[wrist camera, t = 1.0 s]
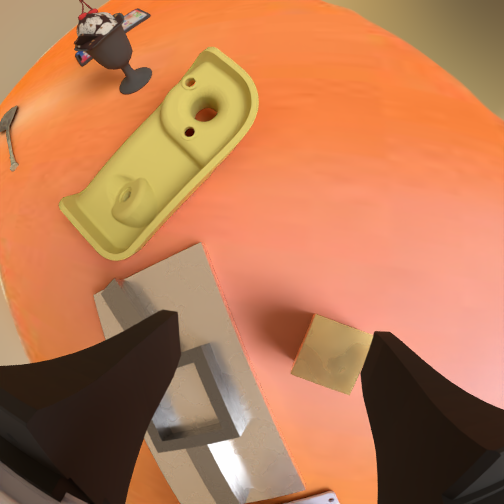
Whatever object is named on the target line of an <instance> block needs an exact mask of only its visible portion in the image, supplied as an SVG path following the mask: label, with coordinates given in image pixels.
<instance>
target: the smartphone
mask: <svg viewBox="0 0 504 504" xmlns="http://www.w3.org/2000/svg"><path fill="white" fill-rule="evenodd" d="M150 16H151V15H150V14H148V13H146V12H144V11H142V10H140V9H135V10H133V11H131V12H130V13H128V14H127V15H125V16H124V22H123V24H122V27H123V29H124V32H125V33H127V32H128V31H130V30H131V29H132V28H134V27H135V26H137V25H138V24H140V23H141V22H143V21H145V20H146V19H148V18H149V17H150ZM75 57H76V58H77V60H78V62H79V63H80V65H81V66H84V65H86V64H87V63H88V62H89V61H90V60H92V59H93V58H92V57H91V56H90V55H89V54H87V53H86V52H85V51H78V52H77V53H76V54H75Z"/></svg>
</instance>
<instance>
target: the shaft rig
mask: <svg viewBox="0 0 504 504" xmlns="http://www.w3.org/2000/svg"><path fill="white" fill-rule="evenodd" d="M94 300H95V303H96V307H97V311H98V315H99V319H100V322H101V326H102V329H103V332H104V336H105V339H106V340H107V339H109V338H111V337H113V336H115V335H117V334H119V333H121V332H123V331H125V330H126V329H128V328H130V327H132V326H133V325H135V324H137V323H139V322H141V321H142V320H144V319H146V318H147V317H149V316H151V315H153V314H154V313H156V312H158V311H160V310H162V309H164V310H170V311H176V312H178V321H179V335H180V347H181V357H180V360H179V363H178V366H177V369H176V372H175V374H174V377H173V379H172V381H171V383H170V385H169V387H168V389H167V391H166V393H165V395H164V397H163V398H162V400H161V402H160V404H159V406H158V408H157V410H156V412H155V414H154V416H153V418H152V419H151V422H150V424H149V426H148V428H147V431H146V434H145V436H144V439H145V441H146V443H147V445H148V447H149V449H150V451H151V453H152V455H153V457H154V459H155V460H156V462H157V464H158V466H159V468H160V470H161V472H162V473H163V475H164V477H165V479H166V480H167V482H168V484H169V485H170V487H171V489H172V490H173V492H174V494H175V495H176V497H177V499H178V500H179V502H180V503H181V504H245V503H250V502H255V501H261V500H266V499H271V498H275V497H280V496H284V495H288V494H292V493H296V492H300V491H303V490H306V483H305V481H304V479H303V477H302V474H301V472H300V470H299V468H298V466H297V464H296V462H295V460H294V458H293V456H292V454H291V451H290V449H289V447H288V445H287V443H286V441H285V438H284V436H283V434H282V432H281V430H280V428H279V425H278V423H277V421H276V419H275V416H274V414H273V412H272V410H271V407H270V405H269V403H268V401H267V398H266V396H265V394H264V391H263V389H262V387H261V385H260V382H259V380H258V378H257V375H256V373H255V370H254V368H253V366H252V363H251V361H250V359H249V356H248V354H247V351H246V349H245V347H244V344H243V342H242V339H241V337H240V334H239V332H238V329H237V327H236V324H235V322H234V319H233V317H232V314H231V312H230V309H229V307H228V304H227V302H226V299H225V297H224V294H223V291H222V289H221V286H220V284H219V281H218V278H217V276H216V273H215V270H214V268H213V265H212V262H211V260H210V257H209V254H208V252H207V249H206V246H205V245H204V244H203V243H201V242H200V243H198V244H196V245H194V246H192V247H190V248H188V249H185V250H183V251H181V252H179V253H177V254H175V255H173V256H171V257H169V258H167V259H165V260H163V261H160V262H158V263H156V264H154V265H152V266H150V267H148V268H146V269H144V270H142V271H140V272H138V273H136V274H134V275H132V276H130V277H128V278H126V279H124V280H121V279H116V278H114V279H113V280H112V281H111V282H110V284H109V285H108V286H107V287H106V288H105V289H104V290H102V291H100V292H98V293H96V294H94Z"/></svg>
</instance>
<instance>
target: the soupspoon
mask: <svg viewBox="0 0 504 504" xmlns="http://www.w3.org/2000/svg"><path fill="white" fill-rule="evenodd" d="M16 109H17V106H15V107H13V108H11V109H10V110H9V111H8V112H7V113H6V114H5V115H4V116H3V118H2V119H1V121H0V132H2V131H4V130H6V136H7V143H8V147H9V153H10V159H11V167H10V170H11V171H14V170H15V169H16V168H17V167H18V165H19V164H18V163H17V162H16V161H15V158H14V155H13V151H12V145H11V139H10V124H11V121H12V119H13V116H14V114H15V111H16Z"/></svg>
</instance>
